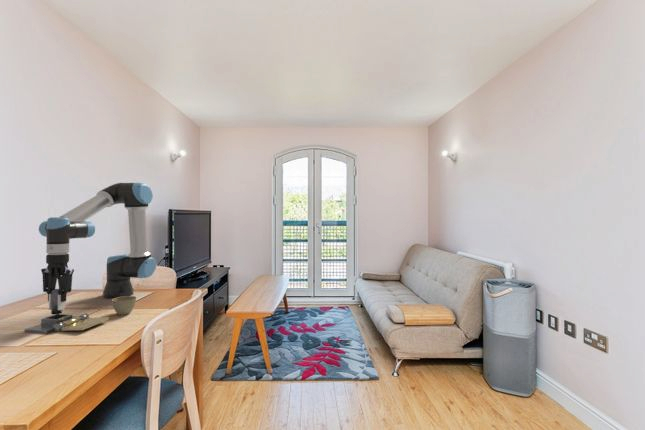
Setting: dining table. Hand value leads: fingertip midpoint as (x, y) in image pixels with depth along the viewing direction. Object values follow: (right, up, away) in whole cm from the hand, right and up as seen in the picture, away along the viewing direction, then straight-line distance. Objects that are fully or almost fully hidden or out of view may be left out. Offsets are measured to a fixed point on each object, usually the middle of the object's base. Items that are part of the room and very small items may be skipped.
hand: (56, 308), depth 136 cm
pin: (0, -2, 0) cm, 2 cm away
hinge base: (+2, -7, 0) cm, 7 cm away
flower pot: (+18, -7, +17) cm, 26 cm away
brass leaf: (+12, -7, -1) cm, 14 cm away
